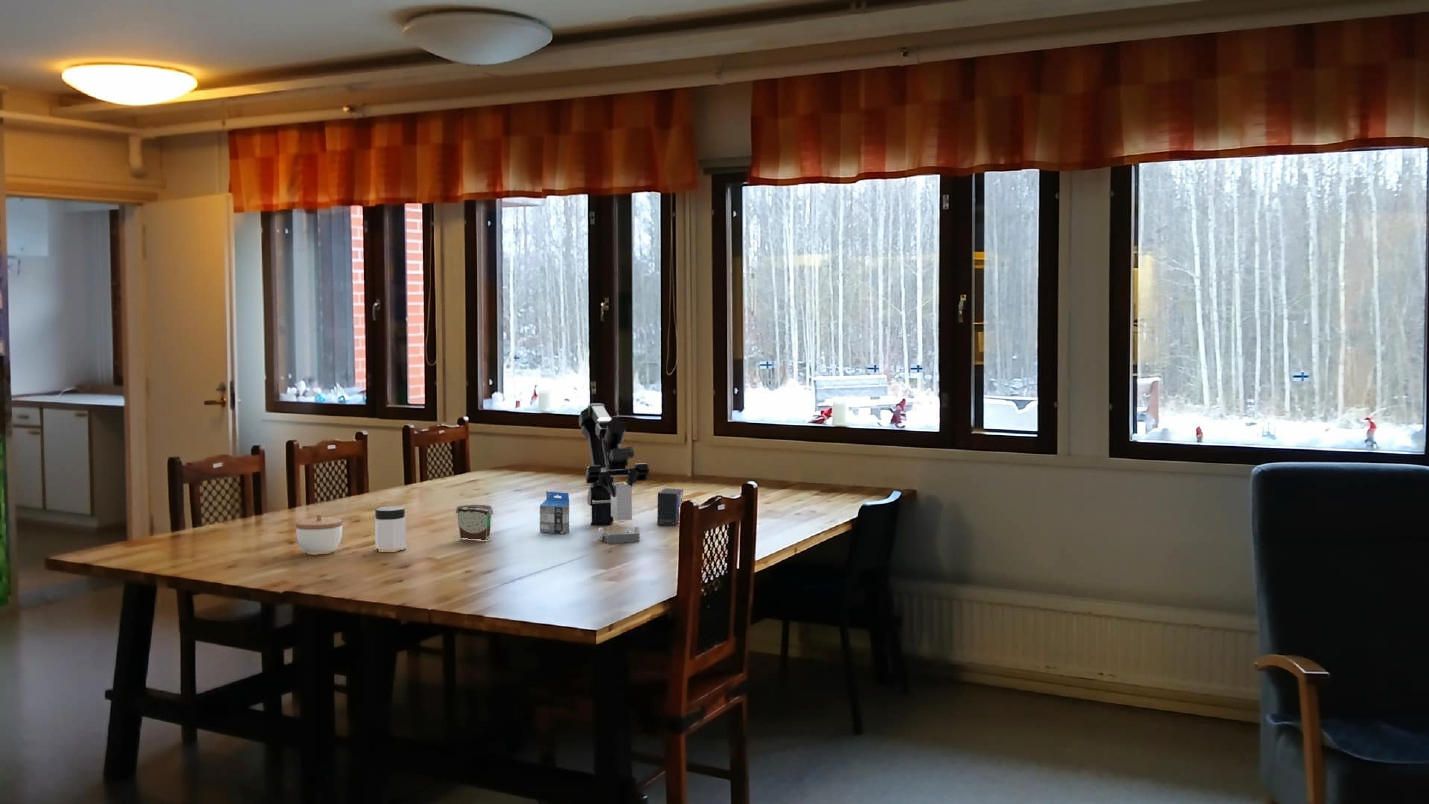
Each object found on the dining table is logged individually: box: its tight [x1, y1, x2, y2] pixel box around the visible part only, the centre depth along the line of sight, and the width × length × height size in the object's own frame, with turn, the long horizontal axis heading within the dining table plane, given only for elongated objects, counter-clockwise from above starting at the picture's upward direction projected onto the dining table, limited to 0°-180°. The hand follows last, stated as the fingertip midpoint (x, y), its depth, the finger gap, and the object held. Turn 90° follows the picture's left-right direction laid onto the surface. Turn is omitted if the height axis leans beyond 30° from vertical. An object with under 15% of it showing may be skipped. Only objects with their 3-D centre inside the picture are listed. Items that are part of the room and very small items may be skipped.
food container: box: [455, 504, 494, 540], centre depth 357 cm, size 12×6×10 cm, turn 65°
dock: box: [597, 525, 641, 545], centre depth 356 cm, size 11×13×4 cm
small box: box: [656, 487, 684, 526], centre depth 383 cm, size 11×6×10 cm, turn 168°
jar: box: [374, 505, 407, 549], centre depth 341 cm, size 9×8×12 cm
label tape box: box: [539, 491, 570, 535], centre depth 368 cm, size 9×4×12 cm, turn 62°
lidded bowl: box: [295, 513, 344, 553], centre depth 338 cm, size 13×13×11 cm
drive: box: [610, 481, 633, 522], centre depth 356 cm, size 8×4×10 cm, turn 18°
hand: (622, 495), depth 354 cm, fingers closed on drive, 4 cm apart
